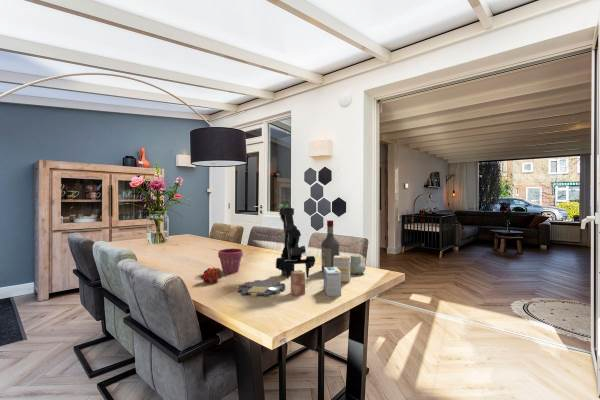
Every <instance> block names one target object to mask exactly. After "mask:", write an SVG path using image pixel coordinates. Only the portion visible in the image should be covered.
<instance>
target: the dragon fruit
mask: <svg viewBox="0 0 600 400" xmlns="http://www.w3.org/2000/svg"><path fill="white" fill-rule="evenodd" d="M222 277H223V270H221V269H220V268H218V267H217V268H216V267H214V266H212V268H210V267H208V268H207V269H206V270H204V272H203V273H202V275H201V276H200V277H199V279H201V280H202V282H203V283H211V284H214V283H217V282H218V280H221V279H222Z"/></svg>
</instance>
